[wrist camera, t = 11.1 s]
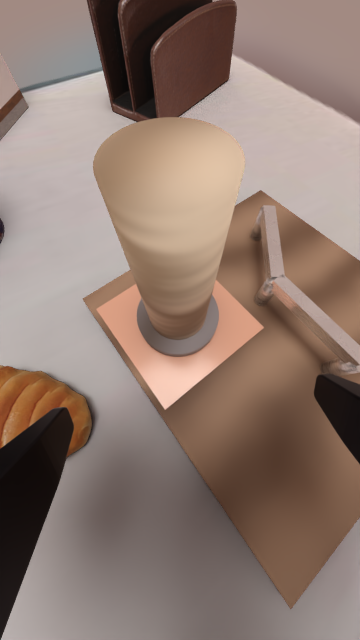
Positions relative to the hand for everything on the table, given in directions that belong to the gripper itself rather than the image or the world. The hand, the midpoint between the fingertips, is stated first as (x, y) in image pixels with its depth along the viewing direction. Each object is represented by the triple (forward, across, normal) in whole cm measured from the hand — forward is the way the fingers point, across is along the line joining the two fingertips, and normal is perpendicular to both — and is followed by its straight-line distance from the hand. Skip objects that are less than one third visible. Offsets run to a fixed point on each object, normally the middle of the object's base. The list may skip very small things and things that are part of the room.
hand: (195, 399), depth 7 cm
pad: (+10, 0, +1) cm, 11 cm away
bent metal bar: (+12, -10, 0) cm, 15 cm away
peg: (+10, 0, +1) cm, 10 cm away
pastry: (+8, +12, +6) cm, 16 cm away
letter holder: (+40, -4, -28) cm, 49 cm away
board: (+10, -8, +3) cm, 13 cm away
